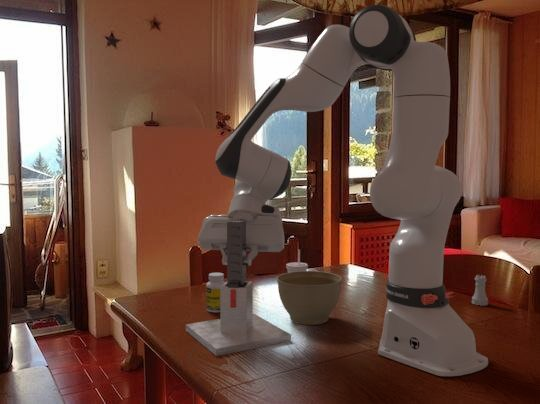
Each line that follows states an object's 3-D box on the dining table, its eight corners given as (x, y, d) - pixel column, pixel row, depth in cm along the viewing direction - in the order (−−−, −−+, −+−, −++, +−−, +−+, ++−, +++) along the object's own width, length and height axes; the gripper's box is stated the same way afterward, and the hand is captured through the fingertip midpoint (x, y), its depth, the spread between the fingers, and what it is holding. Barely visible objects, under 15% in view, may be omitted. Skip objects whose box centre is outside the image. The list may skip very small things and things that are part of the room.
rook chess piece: (485, 302, 147) (486, 274, 146) (490, 306, 142) (491, 277, 142) (469, 301, 147) (470, 273, 146) (473, 306, 143) (474, 277, 142)
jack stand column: (246, 323, 119) (246, 220, 117) (242, 329, 115) (242, 222, 113) (231, 322, 120) (230, 219, 118) (226, 328, 116) (225, 222, 114)
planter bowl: (322, 308, 140) (323, 268, 139) (353, 325, 125) (353, 281, 124) (267, 314, 135) (267, 273, 134) (292, 333, 120) (292, 287, 119)
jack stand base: (253, 319, 130) (253, 269, 129) (291, 341, 115) (291, 284, 114) (185, 330, 121) (185, 277, 120) (216, 356, 106) (215, 294, 105)
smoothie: (308, 299, 148) (308, 251, 147) (286, 299, 149) (286, 251, 147) (307, 294, 155) (307, 247, 154) (285, 293, 155) (286, 247, 154)
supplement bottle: (202, 311, 137) (201, 274, 136) (213, 306, 142) (213, 271, 141) (219, 314, 135) (219, 277, 134) (230, 308, 139) (230, 273, 139)
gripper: (201, 206, 124) (188, 254, 116) (285, 208, 121) (278, 257, 112) (207, 223, 129) (195, 269, 120) (288, 225, 125) (281, 273, 116)
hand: (236, 263), depth 116 cm, fingers closed on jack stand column, 3 cm apart
